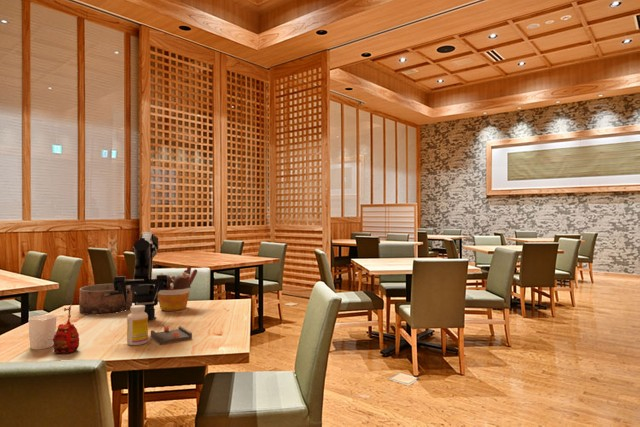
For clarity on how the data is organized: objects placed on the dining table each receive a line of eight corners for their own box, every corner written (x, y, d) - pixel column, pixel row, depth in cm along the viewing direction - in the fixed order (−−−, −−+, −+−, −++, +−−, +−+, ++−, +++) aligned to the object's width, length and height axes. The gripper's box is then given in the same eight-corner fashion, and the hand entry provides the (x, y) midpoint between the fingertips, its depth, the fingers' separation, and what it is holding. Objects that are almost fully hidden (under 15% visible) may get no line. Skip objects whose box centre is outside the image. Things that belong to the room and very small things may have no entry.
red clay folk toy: (47, 354, 132) (48, 307, 133) (61, 348, 140) (62, 303, 140) (71, 354, 133) (72, 307, 133) (84, 348, 140) (84, 303, 140)
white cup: (36, 343, 144) (37, 314, 144) (60, 343, 145) (61, 314, 145) (22, 350, 136) (23, 320, 137) (48, 350, 137) (48, 319, 137)
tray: (150, 336, 153) (150, 327, 153) (180, 331, 160) (180, 323, 160) (160, 344, 144) (160, 335, 144) (191, 339, 150) (192, 330, 150)
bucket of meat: (165, 314, 188) (166, 270, 188) (145, 309, 198) (146, 267, 198) (202, 307, 204) (202, 266, 204) (182, 303, 214) (182, 264, 214)
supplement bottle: (152, 341, 147) (152, 305, 147) (136, 346, 141) (137, 308, 141) (138, 339, 150) (138, 303, 150) (122, 344, 144) (123, 307, 144)
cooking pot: (66, 309, 198) (67, 286, 199) (113, 302, 216) (113, 281, 217) (98, 318, 181) (98, 293, 181) (145, 309, 199) (145, 287, 199)
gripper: (168, 279, 171) (167, 312, 160) (118, 281, 165) (113, 315, 154) (167, 262, 164) (166, 295, 153) (115, 263, 158) (110, 297, 147)
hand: (139, 301), depth 152 cm, fingers open, 9 cm apart
